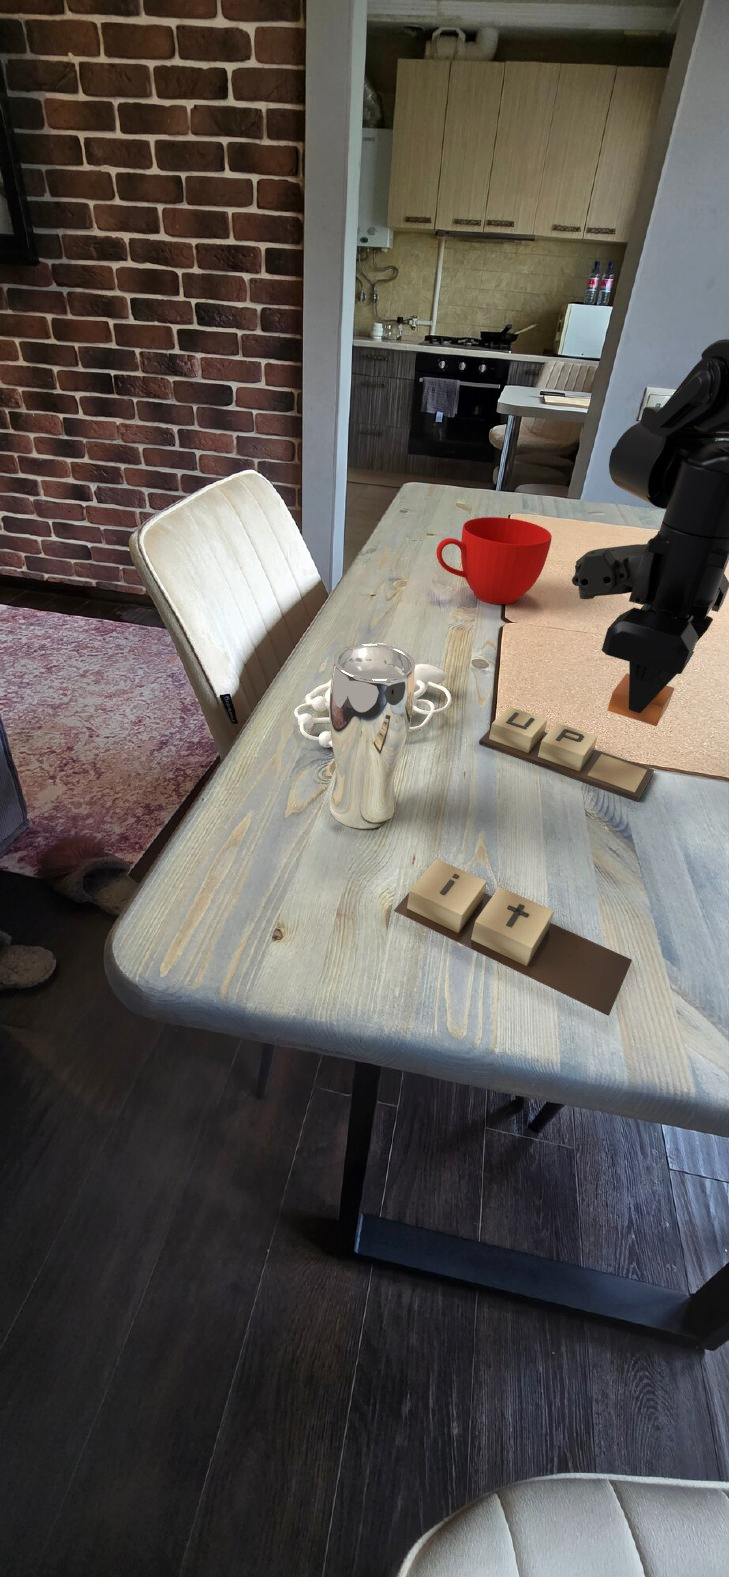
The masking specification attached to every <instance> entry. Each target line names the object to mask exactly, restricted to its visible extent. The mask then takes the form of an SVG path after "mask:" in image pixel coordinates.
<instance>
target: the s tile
mask: <svg viewBox="0 0 729 1577" xmlns="http://www.w3.org/2000/svg"><path fill="white" fill-rule="evenodd" d="M624 674H625V675H624V676H623V677H622V678H621V680H620V681H619V683H618V684H617V685H616V686H615V687H614V689H613V690H612V693H611V696H610V699H609V702H608V705H607V711H608V712H611V713H614V714H617V715H621V716H623V717H626V718H629V719H632V720H636V721H639V722H641V723H645V724H648V725H651V726H654V727H657V726H658V725H659V723H660V722H661V719H662V718H663V716H664V715H665V712H666V711H667V709H668V707H669V705H670V702H671V699H672V697H673V694H674V691H675V687H673V686H670V685H668V684H667V685H666V686H665V687H664V688H663V689H662V690H661V692H660V693H659V694H658V695H657V696H656V697H655V698H654V699H653V700H652V701H651V702H650V703H649V705H648V706H647V707H646V708H645V709H644V710H643V711H642V712H641V713H637V712H634V711H631V710H629V673H624Z"/></svg>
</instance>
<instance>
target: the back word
mask: <svg viewBox="0 0 729 1577" xmlns="http://www.w3.org/2000/svg"><path fill="white" fill-rule="evenodd" d="M547 723H548V719H547V718H545V717H542V716H538V715H536V714H532V713H530V712H527V711H523V710H521V709H519V708H515V707H513V706H507V707H506V708H505V709H504V710H503V712H501V713H500V715H498V717H497V718H496V719H494V721H493V722H492V723H491V727H490V728H489V730H487V732H485V734H484V735H483V736H481V738H480V739H479V740H478V744H479V745H482V746H484V747H487V748H490V749H493V750H495V751H498V752H501V753H503V754H505V755H509V756H512V757H514V758H516V759H519V760H522V761H526V762H528V763H531V764H533V765H536V766H539V767H541V768H544V769H547V770H550V771H552V772H555V773H558V774H561V775H564V776H565V777H566V776H567V777H568V778H572V779H574V780H577V781H579V782H583V783H585V784H588V785H590V786H594V787H595V788H599V789H602V790H604V791H607V792H610V793H612V794H614V795H617V796H621V797H623V798H625V799H629V800H631V801H633V802H637V803H638V802H639V800H640V798H641V796H642V795H643V793H644V791H645V790H646V787H647V785H648V784H649V782H650V780H651V778H652V777H653V775H654V772H655V769H653V768H650V767H648V766H644V765H641V764H639V763H635V762H633V761H630V760H627V759H625V758H621V757H618V756H616V755H612V754H609V753H607V752H604V751H601V750H598V749H596V748H595V747H596V744H597V741H598V736H597V735H595V734H592V733H588V732H586V731H583V730H580V729H578V728H574V727H571V726H568V725H565V724H562V723H559V722H556V723H555V724H554V725H553V727H551V729H550V730H549V731H548V732H547V731H546V728H547Z"/></svg>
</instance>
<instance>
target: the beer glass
mask: <svg viewBox="0 0 729 1577" xmlns="http://www.w3.org/2000/svg"><path fill="white" fill-rule="evenodd" d="M415 664H416V661H415V659H414V658H413V657H412V655H410V654H409V653H407V652H406V651H404V650H402V649H400V648H398V647H395V646H391V645H388V644H386V645H382V644H376V643H369V642H368V643H357V644H352V645H348V646H345V647H343V648H341V649H339V650H338V651H337V652H336V653H335V654H334V657H333V667H332V673H331V674H332V675H331V679H332V681H331V689H330V701H329V711H328V713H329V714H328V717H329V722H330V723H329V731H330V733H331V740H332V747H333V748H332V747H331V748H332V753H333V758H334V759H333V760H334V766H335V780H334V786H333V789H332V793H331V796H330V799H329V810H330V813H331V815H332V816H333V818H334V819H335V820H336V821H338V822H339V823H341V824H342V825H344V826H347V827H350V828H353V829H359V830H371V829H376V828H380V827H382V826H384V825H385V824H386V823H387V822H388V821H389V820H390V819H391V818H392V817H393V816H394V815H395V814H396V809H397V805H396V796H395V795H396V793H395V780H396V774H397V771H398V767H399V764H400V761H401V757H402V755H403V752H404V748H405V745H406V743H407V739H408V737H409V736H408V735H409V732H410V731H409V728H410V727H411V724H412V717H413V714H412V711H413V701H414V674H415Z"/></svg>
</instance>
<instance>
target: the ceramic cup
mask: <svg viewBox="0 0 729 1577" xmlns="http://www.w3.org/2000/svg"><path fill="white" fill-rule="evenodd" d="M461 529H462V530H461V540H459V539H457V538H453V537H447V538H444V539H443V540H441V541H440V542H439V543H438V545H437V547H436V552H435V553H436V559H437V561H438V563H439V565H440V566H441V567H442V568H443V569H444V570H445V571H446V572H448V573H450V574H453V575H454V576H458V577H461V578H463V579H465V582H466V583H467V584H468V587H469V588H470V589H471V591H472V592H473V595H474V596H475V598H477V599H478V600H480V601H482V602H485V603H489V604H494V605H510V604H514V603H516V602H517V601H518V600H519V599H520V598H521V597H523V596H524V595H526V593H528V591H529V590H531V589H532V588H533V586H534V585H535V584H536V582H537V580H539V577H540V576H541V574H542V571H543V569H544V567H545V564H546V561H547V558H548V555H549V552H550V548H551V543H552V539H553V538H552V537H553V536H552V533H551V532H550V531H549V530H548V529H546V528H545V527H543V526H540V525H539V524H536V523H534V522H533V523H532V522H530V521H527V520H522V519H517V518H510V517H499V516H484V517H483V516H482V517H476V518H471V519H469V520H466V521H465V522H464V523H463V525H462V528H461ZM448 545H455V546H457V547H458V548H459V550H460V561H461V568H462V570H460V569H457V568H454V567H452V566H450V565H448V563H446V561H445V560H444V558H443V551H444V549H445V547H447V546H448Z"/></svg>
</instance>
